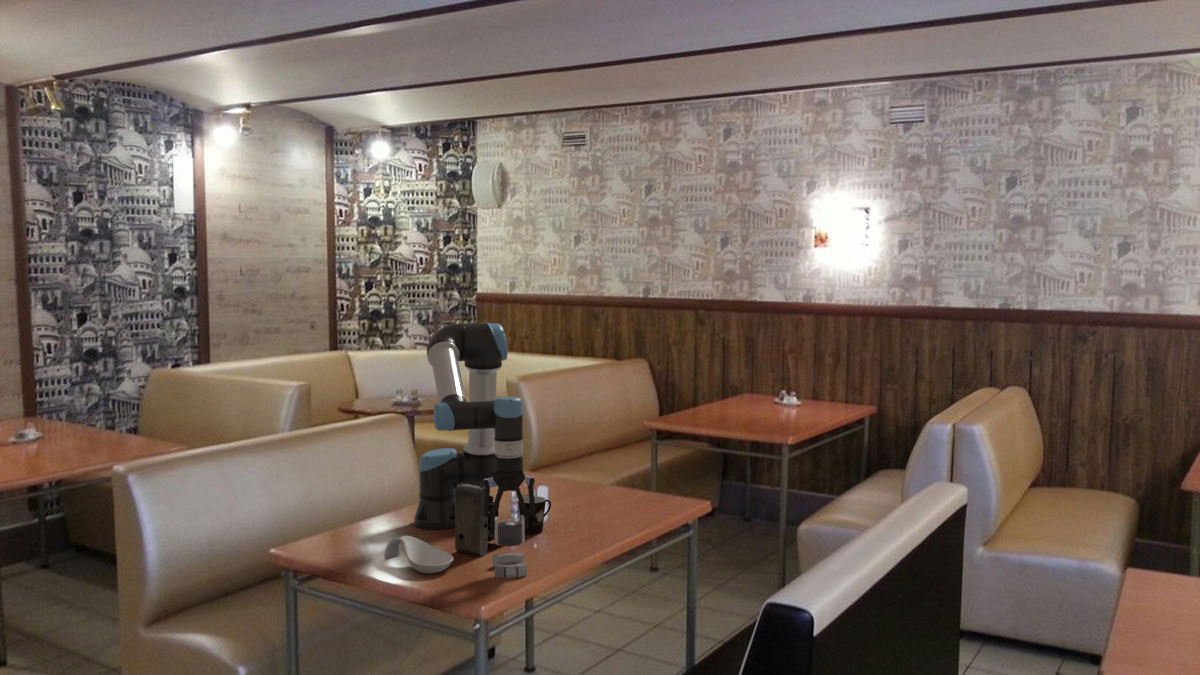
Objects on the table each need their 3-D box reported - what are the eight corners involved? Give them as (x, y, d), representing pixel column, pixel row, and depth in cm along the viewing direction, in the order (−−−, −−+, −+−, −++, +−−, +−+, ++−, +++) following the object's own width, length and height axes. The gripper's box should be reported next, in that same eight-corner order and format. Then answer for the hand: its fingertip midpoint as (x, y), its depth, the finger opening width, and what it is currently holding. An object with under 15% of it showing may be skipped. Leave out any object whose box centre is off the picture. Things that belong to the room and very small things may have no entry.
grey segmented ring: (492, 564, 247) (492, 553, 247) (523, 563, 249) (523, 552, 249) (495, 579, 236) (495, 567, 235) (527, 577, 237) (527, 566, 237)
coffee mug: (522, 536, 274) (522, 503, 274) (514, 529, 282) (514, 497, 282) (559, 532, 279) (559, 500, 278) (550, 525, 287) (550, 494, 286)
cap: (496, 540, 243) (496, 521, 243) (520, 539, 244) (520, 520, 244) (498, 546, 237) (498, 526, 237) (522, 545, 238) (522, 526, 238)
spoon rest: (462, 570, 244) (462, 544, 243) (427, 581, 235) (427, 554, 234) (406, 553, 259) (406, 528, 258) (372, 563, 250) (372, 537, 249)
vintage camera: (513, 545, 267) (513, 478, 266) (480, 557, 254) (480, 486, 253) (487, 541, 272) (487, 475, 271) (453, 552, 258) (453, 483, 258)
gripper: (472, 459, 235) (473, 547, 236) (546, 456, 238) (547, 543, 239) (471, 454, 242) (472, 539, 244) (543, 451, 246) (544, 536, 247)
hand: (509, 541), depth 241 cm, fingers closed on cap, 6 cm apart
